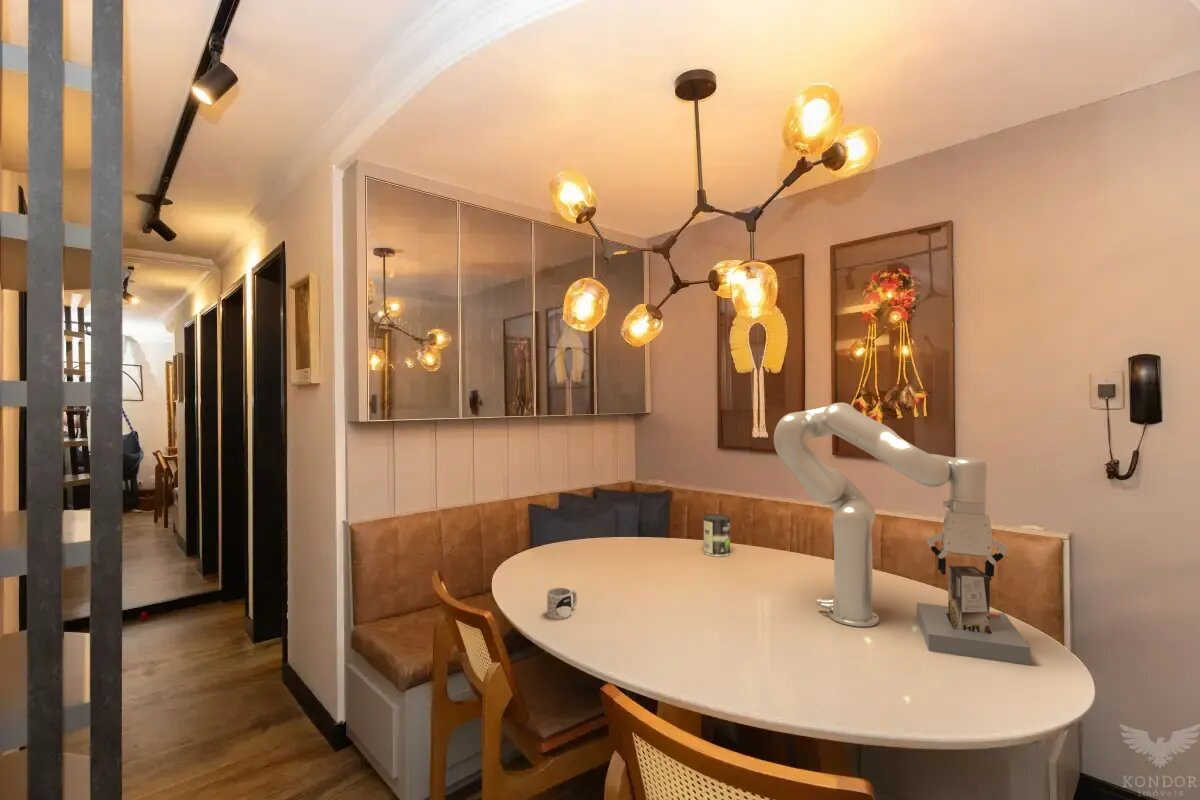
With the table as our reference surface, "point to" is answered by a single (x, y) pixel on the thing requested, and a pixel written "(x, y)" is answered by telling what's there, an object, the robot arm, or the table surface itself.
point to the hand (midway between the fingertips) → (965, 576)
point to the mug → (560, 603)
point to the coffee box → (969, 599)
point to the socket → (972, 637)
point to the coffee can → (716, 535)
